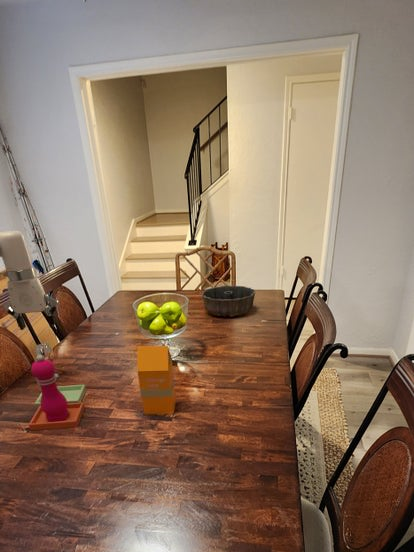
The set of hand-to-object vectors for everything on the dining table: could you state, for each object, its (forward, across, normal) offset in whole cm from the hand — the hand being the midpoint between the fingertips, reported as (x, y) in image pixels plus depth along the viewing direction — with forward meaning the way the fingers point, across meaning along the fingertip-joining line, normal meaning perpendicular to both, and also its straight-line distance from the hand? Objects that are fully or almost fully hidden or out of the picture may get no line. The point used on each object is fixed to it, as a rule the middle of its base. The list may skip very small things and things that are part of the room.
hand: (38, 327), depth 123 cm
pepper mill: (+18, +9, -28) cm, 35 cm away
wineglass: (+19, 0, 0) cm, 19 cm away
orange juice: (+19, +40, -26) cm, 51 cm away
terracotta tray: (+18, +10, -28) cm, 35 cm away
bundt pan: (+20, +70, +59) cm, 94 cm away
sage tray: (+19, +8, -17) cm, 26 cm away
